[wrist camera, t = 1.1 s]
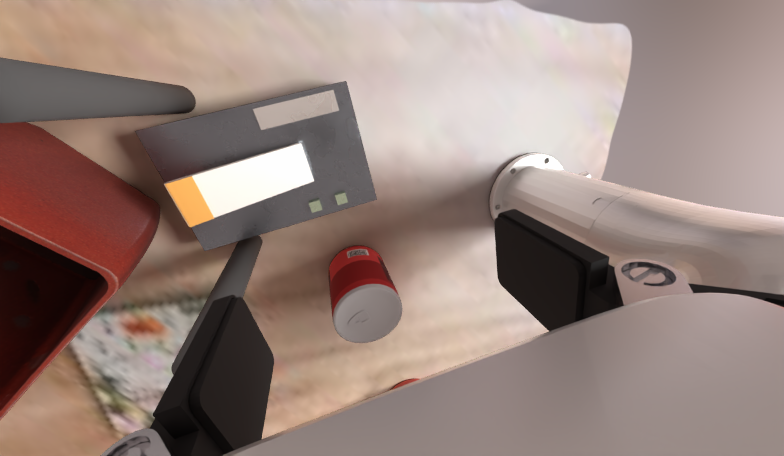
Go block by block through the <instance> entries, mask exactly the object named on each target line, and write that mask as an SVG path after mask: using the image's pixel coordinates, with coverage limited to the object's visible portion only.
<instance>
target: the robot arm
mask: <svg viewBox="0 0 784 456" xmlns="http://www.w3.org/2000/svg"><path fill="white" fill-rule="evenodd" d="M489 202H490V212H491V216H492V218H493V220H494V224H495V240H496V256H497V272H498V279H499V282H500V284H501V285H502V286H503V287H504V288H505V289H506V290H507V291H508V292H509V293H510V294H511V295H512V296H513V297H514V298H515V299H516V300H517V301H518V302H519V303H520V304H522V305H523V306H524V307H525V308H526V309H527V310H528V311H529V312H530V313H531V314H532V315H533V316H534V317H535V318H536V319H537V320H538V321H539V322H540V323H541V324H542V325H543V326H544V327H545V328H547V329H548V330H549V332H547V333H544V334H541V335H538V336H536V337H533V338H530V339H528V340H525V341H522V342H519V343H517V344H514V345H511V346H508V347H506V348H503V349H500V350H498V351H495V352H492V353H489V354H487V355H484V356H481V357H478V358H476V359H473V360H470V361H468V362H465V363H462V364H460V365H457V366H454V367H452V368H449V369H446V370H444V371H441V372H438V373H436V374H433V375H430V376H427V377H425V378H422V379H419V380H417V381H414V382H411V383H409V384H406V385H403V386H401V387H398V388H395V389H393V390H390V391H387V392H385V393H382V394H379V395H377V396H374V397H372V398H369V399H366V400H364V401H361V402H358V403H356V404H353V405H350V406H348V407H345V408H343V409H340V410H337V411H335V412H332V413H329V414H327V415H324V416H322V417H319V418H316V419H314V420H311V421H308V422H306V423H303V424H300V425H298V426H295V427H293V428H290V429H287V430H285V431H282V432H280V433H277V434H274V435H272V436H269V437H267V438H264V439H262V433H263V426H264V420H265V414H266V408H267V402H268V396H269V390H270V384H271V378H272V372H273V366H274V358H273V354H272V352H271V350H270V348H269V346H268V344H267V342H266V340H265V339H264V337H263V335H262V333H261V331H260V329H259V327H258V326H257V324H256V322H255V320H254V318H253V316H252V314H251V312H250V311H249V309H248V307H247V305H246V303H245V301H244V300H243V298H242V297H236V296H235V295H233V294H232V295H229V296H226V297H222V298H219V299H216V300H214V301H213V302H212V304H211V306H210V308H209V310H208V312H207V314H206V315H205V317H204V319H203V321H202V323H201V325H200V327H199V329H198V330H197V332H196V334H195V336H194V338H193V340H192V342H191V344H190V346H189V347H188V349H187V351H186V353H185V355H184V357H183V359H182V361H181V362H180V364H179V366H178V368H177V370H176V372H175V374H174V376H173V378H172V379H171V381H170V383H169V385H168V387H167V389H166V391H165V393H164V394H163V396H162V398H161V400H160V402H159V404H158V406H157V408H156V410H155V411H154V413H153V416H154V417H155V420H154V422H153V423H152V425H151V427H150V429H142V430H138V431H135V432H133V433H131V434H129V435H127V436H125V437H123V438H122V439H121V440H119V441H118V442H116V443H115V444H113V445H112V446H111V447H110V448H108V449H107V450H106V451H105V452H104V453H103V454H102V455H101V456H784V217H779V216H771V215H764V214H756V213H748V212H741V211H734V210H729V209H722V208H717V207H711V206H705V205H700V204H696V203H692V202H687V201H683V200H678V199H674V198H669V197H665V196H661V195H657V194H653V193H649V192H645V191H641V190H638V189H634V188H630V187H626V186H622V185H618V184H613V183H610V182H606V181H602V180H598V179H595V178H591V177H590V175H589V173H588V172H583V173H580V174H575V173H571V172H567V171H564V170H563V168H562V166H561V164H560V163H559V162H558V161H557V160H556V159H555V158H553V157H551V156H549V155H546V154H541V153H529V154H526V155H522V156H520V157H518V158H516V159H515V160H513V161H512V162H511V163H509V164H508V165H507V166H506V167H505V168H504V169H503V170H502V171H501V173H500V174H499V176H498V177H497V179H496V181H495V183H494V185H493V188H492V191H491V194H490V201H489ZM261 439H262V440H261Z"/></svg>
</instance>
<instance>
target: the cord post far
mask: <svg viewBox="0 0 784 456" xmlns="http://www.w3.org/2000/svg"><path fill="white" fill-rule="evenodd" d="M261 245H262V239H261V237H260V236H259V235H257V236H253V237H250V238H247V239H243V240H240V241H239V242H238V244H237V245H236V247H235V249H234V251H233V253H232V255H231V257H230V258H229V260H228V262H227V264H226V266H225V268H224V270H223V271H222V273H221V275H220V277H219V279H218V281H217V283H216V284H215V286H214V288H213V290H212V292H211V294H210V296H209V297H208V299H207V301H206V303H205V305H204V307H203V309H202V310H201V312H200V314H199V316H198V318H197V320H196V322H195V323H194V325H193V327H192V329H191V331H190V333H189V335H188V336H187V338H186V340H185V342H184V344H183V346H182V348H181V349H180V351H179V353H178V355H177V357H176V359H175V361H174V362H173V365H172V373H173V374H175V372H176V370H177V368H178V366H179V364H180V362H181V361H182V359H183V357H184V355H185V353H186V351H187V349H188V347H189V346H190V344H191V342H192V340H193V338H194V336H195V334H196V332H197V330H198V329H199V327H200V325H201V323H202V321H203V319H204V317H205V315H206V314H207V312H208V310H209V308H210V306H211V304H212V302H213V301H214V300H216V299H219V298H222V297H226V296H229V295H232V294H233V295H235V296H236V297H242V298H243V296H244V293H245V290H246V287H247V284H248V282H249V279H250V276H251V273H252V270H253V268H254V265H255V262H256V259H257V257H258V254H259V251H260V248H261Z"/></svg>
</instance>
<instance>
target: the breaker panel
mask: <svg viewBox="0 0 784 456" xmlns="http://www.w3.org/2000/svg"><path fill="white" fill-rule="evenodd" d="M135 132H136V134H137V136H138V137H139V139H140V141H141V142H142V144H143V146H144V148H145V149H146V151H147V153H148V154H149V156H150V158H151V160H152V161H153V163H154V165H155V167H156V168H157V170H158V172H159V173H160V175H161V177H162V179H163V180H164V182H168V181H172V180H175V179H178V178H182V177H185V176H188V175H192V174H195V173H198V172H202V171H205V170H209V169H212V168H215V167H219V166H222V165H225V164H229V163H232V162H235V161H239V160H242V159H245V158H249V157H252V156H255V155H259V154H262V153H266V152H269V151H272V150H276V149H279V148H282V147H286V146H289V145H292V144H296V143H301V144H302V147H303V150H304V153H305V156H306V159H307V162H308V165H309V167H310V170H311V173H312V176H313V179H314V181H313V182H310V183H308V184H305V185H302V186H300V187H297V188H294V189H291V190H289V191H286V192H283V193H281V194H278V195H275V196H272V197H270V198H267V199H264V200H262V201H259V202H256V203H253V204H251V205H248V206H245V207H243V208H240V209H237V210H234V211H232V212H229V213H226V214H224V215H221V216H218V217H215V218H214V219H211V220H209V221H206V222H203V223H201V224H198V225H195V226H192V227H191V228H192V230H193V232H194V234H195V235H196V237H197V239H198V240H199V242H200V244H201V246H202V247H203V249H204V251H207V250H210V249H213V248H217V247H220V246H223V245H227V244H230V243H233V242H237V241H240V240H243V239H247V238H250V237H253V236H257V235H260V234H263V233H267V232H270V231H273V230H277V229H280V228H283V227H287V226H290V225H294V224H297V223H300V222H304V221H307V220H310V219H314V218H317V217H320V216H324V215H327V214H330V213H334V212H337V211H340V210H344V209H347V208H350V207H354V206H357V205H360V204H364V203H367V202H370V201H374V200H377V198H376V194H375V190H374V187H373V183H372V179H371V175H370V171H369V167H368V163H367V159H366V156H365V152H364V148H363V144H362V140H361V136H360V132H359V128H358V125H357V121H356V117H355V113H354V109H353V105H352V101H351V97H350V94H349V90H348V86H347V82H346V81H344V82H340V83H336V84H331V85H327V86H323V87H319V88H315V89H310V90H306V91H302V92H298V93H293V94H289V95H285V96H281V97H277V98H272V99H268V100H264V101H260V102H255V103H251V104H247V105H243V106H239V107H234V108H230V109H226V110H222V111H218V112H213V113H209V114H205V115H201V116H196V117H192V118H188V119H184V120H180V121H175V122H171V123H167V124H163V125H158V126H154V127H150V128H146V129H142V130H137V131H135Z"/></svg>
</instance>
